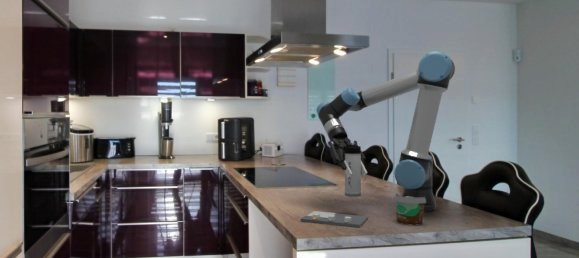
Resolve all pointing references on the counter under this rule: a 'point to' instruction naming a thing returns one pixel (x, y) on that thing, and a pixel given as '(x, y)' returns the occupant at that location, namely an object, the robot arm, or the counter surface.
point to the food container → (409, 209)
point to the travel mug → (353, 171)
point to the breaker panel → (335, 219)
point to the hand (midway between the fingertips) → (357, 175)
